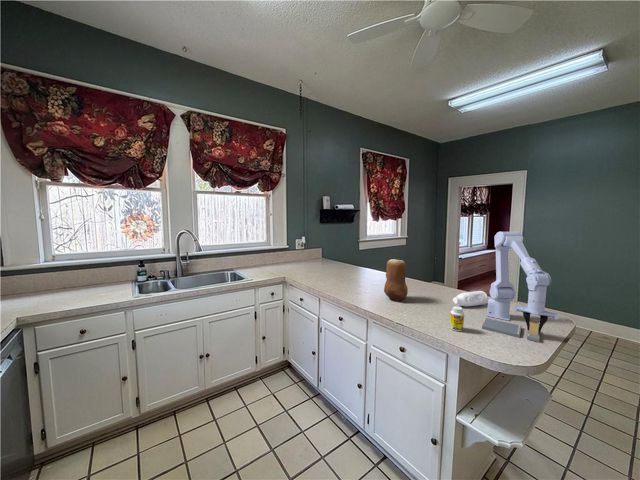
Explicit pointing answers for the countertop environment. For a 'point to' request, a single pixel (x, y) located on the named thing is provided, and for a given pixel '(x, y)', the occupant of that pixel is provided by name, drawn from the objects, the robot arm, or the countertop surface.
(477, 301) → the white bottle
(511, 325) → the grey studded panel
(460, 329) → the supplement bottle
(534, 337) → the stub
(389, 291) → the butternut squash
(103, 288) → the countertop surface
